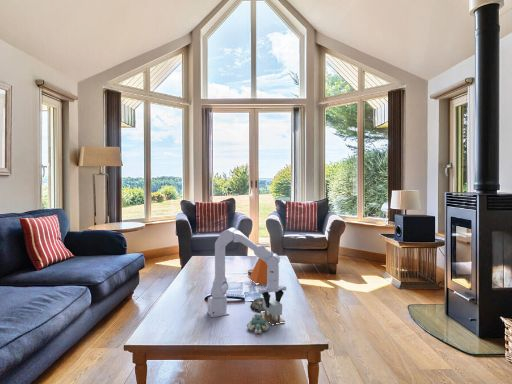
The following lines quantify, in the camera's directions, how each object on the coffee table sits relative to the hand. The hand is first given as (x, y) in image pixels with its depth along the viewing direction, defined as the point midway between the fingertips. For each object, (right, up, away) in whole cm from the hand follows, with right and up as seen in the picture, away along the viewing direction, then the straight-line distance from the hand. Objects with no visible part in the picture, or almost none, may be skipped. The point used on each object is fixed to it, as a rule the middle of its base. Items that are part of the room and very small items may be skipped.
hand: (272, 306), depth 162 cm
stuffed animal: (-7, -7, -11) cm, 15 cm away
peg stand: (0, -6, 0) cm, 6 cm away
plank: (0, -2, 0) cm, 2 cm away
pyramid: (-3, -5, +62) cm, 62 cm away
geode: (-4, -7, +17) cm, 19 cm away
